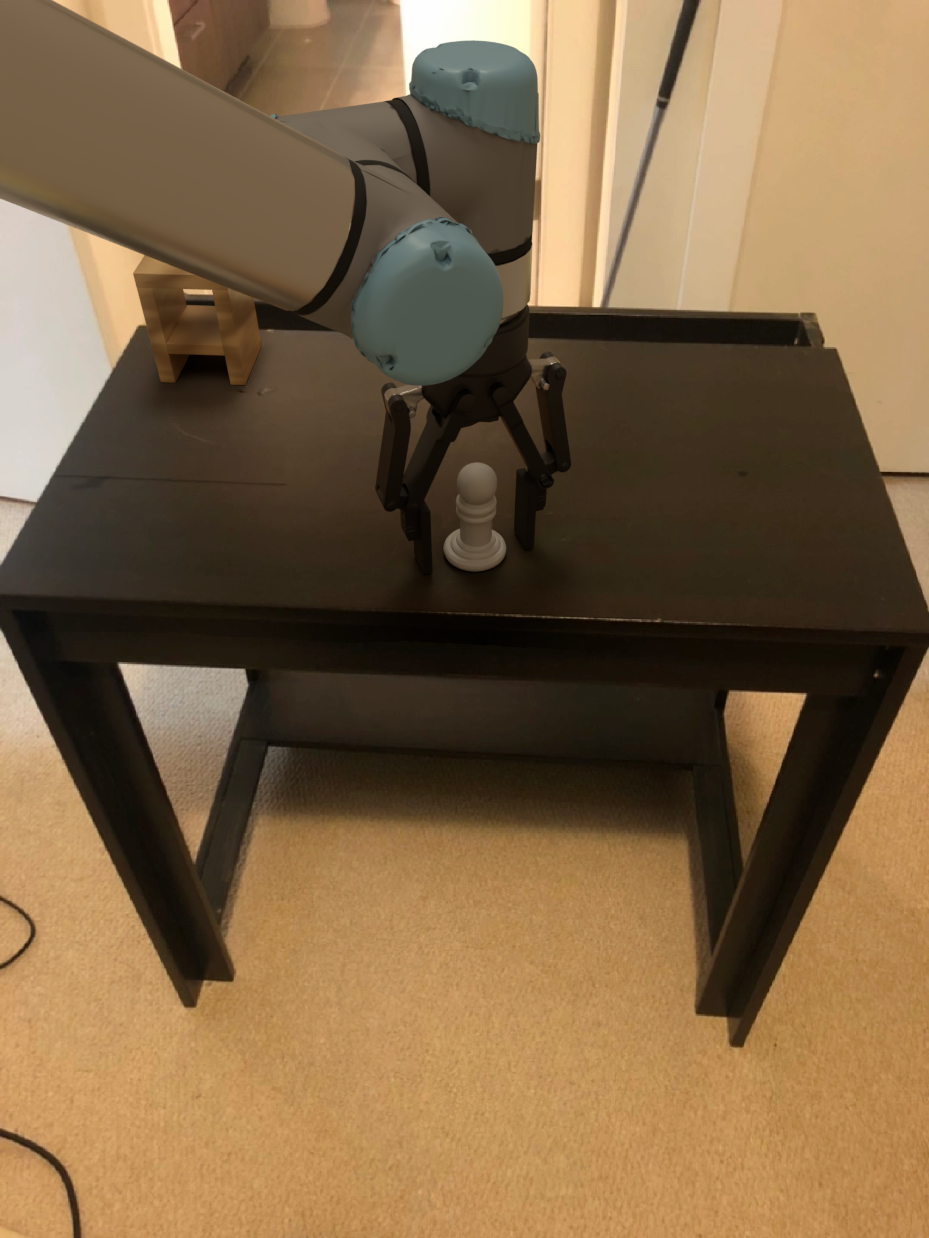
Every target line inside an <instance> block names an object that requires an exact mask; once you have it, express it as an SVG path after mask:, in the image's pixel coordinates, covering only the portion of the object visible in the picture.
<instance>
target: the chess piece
mask: <svg viewBox="0 0 929 1238" xmlns="http://www.w3.org/2000/svg"><path fill="white" fill-rule="evenodd" d="M456 489H457V493H458V495H457V496H456V499H455V506H456V507H455V513H456V516H457V518H458V519H459V528H457V529H456V530H454V531H452V532H451V533H450V534H448V536H447V537H446V539H445V541H444V543H443V549H442V550H443V554H444V556H445V558H446V560H447V561H448V562H449V564H450V565H452V566H454V567H455V568H457V569H459V570H463V571H466V572H484V571H487V570H490V569H493V568H495V567H496V566H498V565H499V564H500V563H501V562H502V561H503V560H504V558H505V556H506V553H507V545H506V541H505V539H504V538H503V536H502V535H501V534H500V533H498V531H496V530H494V529H493V519H494V518H495V517H496V514H497V511H498V510H497V504H498V501H497V497H496V492H497V489H498V478H497V474H496V472H495V471H494V469H493V468H492V467H491V466H490V465H488V464H486V463H483V462H471V463H467V464H466V465H465V466H463V467H462V468H461V469H460V471H459V472H458V475H457V478H456Z"/></svg>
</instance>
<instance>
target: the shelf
mask: <svg viewBox="0 0 929 1238" xmlns="http://www.w3.org/2000/svg"><path fill="white" fill-rule="evenodd" d="M132 276H133V279H134V283H135V287H136V290H137V294H138V298H139V299H138V300H139V302H140V307H141V310H142V314H143V318H144V321H145V326H146V329H147V333H148V338H149V342H150V344H151V349H152V353H153V357H154V361H155V366H156V368H157V373H158V376H159V381H160V383H170V384H171V383H172V384H175V383H176V382H177V381H178V379H179V377H180V374H181V373H182V371H183V369H184V366H185V365H186V363H187V361H188V358H189V357H190V355H191V356H192V355H193V356H195V355H197V356H224V358H225V363H226V369H227V373H228V378H229V383H230V385H232V386H233V385H234V386H246V385H247V382H248V379H249V377H250V375H251V373H252V370H253V367H254V365H255V362H256V360H257V358H258V355H259V353H260V350H261V348H262V341H261V336H260V328H259V323H258V316H257V311H256V304H255V298H253V297H250V296H248V295H245V294H242V293H240V292H237V291H235V290H232V289H230V288H227V287H225V286H222V285H220V284H217V283H214V282H212V281H209V280H207V279H204V278H202V277H199V276H197V275H194V274H191V273H189V272H186V271H184V270H181V269H179V268H176V267H174V266H171V265H168V264H166V263H163V262H161V261H158V260H156V259H153V258H151V257H148V256H146V255H143V257H142V259H141V260H140V262H139V263H138V265H137V266H136V268H135V270H133V272H132ZM184 290H198V291H199V290H200V291H201V290H203V291H211V293H212V297H213V303H214V305H197V304H196V305H194V304H187V301H186V296H185V292H184Z"/></svg>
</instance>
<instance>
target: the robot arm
mask: <svg viewBox="0 0 929 1238" xmlns="http://www.w3.org/2000/svg"><path fill="white" fill-rule="evenodd" d="M538 80H539V78H538V71H537V69H536V65H535V64H534V62H533V61H532V59H531V58H530V56H529V55H527V54H526V53H524V52H523V51H521V50H519V49H518V48H516V47H514V46H513V45H508V44H505V43H500V42H496V41H488V40H476V39H475V40H473V39H472V40H471V39H470V40H458V41H457V40H456V41H447V42H443V43H440V44H438V45H437V46H436V47H428V48H425V49H423V50H422V51H420V52H419V53H418V54H417V56H415V58H414V60H413V62H412V66H411V78H410V82H409V83H408V90H409V94H407V95H403V96H397V97H393V98H392V99H389V100H384V101H378V102H370V103H364V104H363V103H362V104H356V105H350V106H342V107H335V108H328V109H321V110H314V111H307V112H299V113H292V114H286V115H285V114H284V115H280V114H278V113H272V114H270V115H269V114H268V113H265V112H263V111H261V110H260V109H258V108H255V107H254V106H252V105H250V104H248V103H247V102H244V101H243V100H241V99H239V98H237V97H235V96H234V95H232V94H230V93H228V92H226V91H224V90H222V89H220V88H218V87H216V86H215V85H212V84H211V83H209V82H207V81H205V80H203V79H201V78H200V77H198V76H195V75H194V74H192V73H190V72H188V71H186V70H184V69H183V68H180V67H179V66H177V65H175V64H173V63H171V62H170V61H168V60H166V59H164V58H162V57H160V56H158V55H156V54H154V53H152V52H151V51H149V50H147V49H145V48H143V47H141V46H139V45H137V44H135V43H133V42H132V41H131V40H128V39H126V38H125V37H122V36H121V35H119V34H117V33H115V32H113V31H111V30H109V29H107V28H106V27H103V26H102V25H100V24H98V23H97V22H95V21H93V20H90V19H89V18H86V17H85V16H83V15H81V14H79V13H78V12H75V11H73V10H72V9H70V8H68V7H66V6H64V5H62V4H60V3H58V2H57V1H55V0H0V200H3V201H6V202H7V203H10V204H13V205H16V206H18V207H20V208H24V209H26V210H29V211H31V212H34V213H36V214H39V215H41V216H44V217H46V218H49V219H51V220H53V221H56V222H59V223H62V224H64V225H67V226H69V227H72V228H74V229H77V230H79V231H82V232H85V233H86V234H89V235H92V236H95V237H98V238H100V239H102V240H105V241H108V242H110V243H112V244H114V245H118V246H120V247H123V248H125V249H128V250H131V251H132V252H136V253H138V254H141V255H143V256H145V255H146V256H148V257H151V258H153V259H156V260H158V261H161V262H163V263H166V264H168V265H171V266H174V267H176V268H179V269H181V270H184V271H186V272H189V273H191V274H194V275H197V276H199V277H202V278H204V279H207V280H209V281H212V282H214V283H217V284H220V285H222V286H225V287H227V288H230V289H232V290H235V291H237V292H240V293H242V294H245V295H248V296H250V297H253V298H254V300H258V301H261V302H263V303H266V304H268V305H271V306H273V307H275V308H278V309H281V310H283V311H286V312H288V313H291V314H293V315H297V316H299V317H301V318H304V319H306V320H308V321H311V322H313V323H316V324H317V325H318V324H319V325H320V326H322V327H325V328H327V329H330V330H332V331H335V332H337V333H340V334H343V335H344V336H347V337H348V338H350V339H351V340H352V342H353V344H354V346H355V347H356V350H357V351H358V352H359V354H360V355H362V356H363V357H364V358H365V359H366V360H367V361H368V362H370V363H372V364H374V365H375V367H377V369H379V371H380V372H381V373H382V374H384V375H385V376H387V377H388V378H390V379H392V380H393V381H396V382H399V383H402V384H403V385H402V386H397V385H396V383H394V382H391V381H390V382H386V383H384V384H383V385H382V387H381V389H380V393H381V397H382V400H383V401H382V402H383V405H384V410H385V416H384V423H383V430H382V436H381V444H380V451H379V457H378V465H377V470H376V471H377V472H376V478H375V485H374V490H375V493H376V495H377V498H378V499H379V501H380V503H381V505H382V508H383V510H384V511H385V512H387V513H391V512H394V511H396V510H399V512H400V513H399V515H400V527H401V529H402V531H403V533H404V536H405V537H406V539H407V541H408V542H412V541H413V542H412V543H413V555H414V557H415V559H416V561H417V563H418V565H419V567H420V569H421V572H422V573H423V575H428V574H432V573H433V546H432V545H433V544H432V543H433V542H432V518H431V517H432V515H431V510H430V508H429V506H428V504H427V502H426V500H425V499H426V497H427V495H428V493H429V490H431V486H432V484H433V482H434V480H435V478H436V475H437V473H438V471H439V469H440V467H441V465H442V462H443V460H444V459H445V457H446V454H447V451H448V450H449V447H450V445H451V444H452V443H454V442H456V441H457V438H458V436H459V434H460V432H461V429H464V428H468V427H472V426H474V425H476V424H478V423H492V422H497V421H499V420H501V421H502V423H503V425H504V427H505V429H506V431H507V433H508V435H509V437H510V438H511V440H512V442H513V444H514V445H515V448H516V449H517V451H518V454H519V455H520V456H521V459H522V460H523V462H524V464H525V466H526V468H527V469H526V468H525V467H523V468H518V469H516V471H515V495H514V519H513V522H514V523H513V532H514V533H515V535H516V536H517V538H518V539H519V542H520V543H521V544H522V546H523V549H525V550H530V549H534V548H535V536H536V535H535V534H536V533H535V532H536V518H537V517H536V516H537V512H539V511H543V510H544V509H545V507H546V504H547V493H548V492H547V491H548V489H550V488H551V487H552V486H553V485H554V483H555V479H554V477H553V476H552V475H554V474H555V473H557V472H559V473H566V472H568V471H569V470H570V469H571V467H572V459H571V451H570V445H569V437H568V428H567V423H566V422H567V421H566V415H565V407H564V401H563V391H564V387H565V382H566V379H567V371H568V370H566V368H565V367H564V365H563V364H562V363H561V362H560V361H559V359H557V357H556V356H555V354H554V353H552V351H544V352H543V353H541V354H540V356H539V358H530V359H528V356H527V354H528V350H529V334H530V333H529V332H530V312H531V311H530V307H529V303H530V301H531V295H532V292H531V291H532V270H533V269H532V268H533V267H532V266H533V232H534V230H533V229H534V216H535V215H534V214H535V213H534V212H535V195H536V179H537V177H536V176H537V159H538V145H539V143H540V141H541V132H540V113H539V112H540V108H539V107H540V99H539V98H540V95H539V82H538ZM529 381H531V382H532V384H534V386H535V392H536V399H537V406H538V412H539V418H540V423H541V424H540V425H541V430H542V437H543V442H544V449H545V452H543V453H540V451H539V449H538V448H537V446H536V443H535V442H534V439H533V438H532V436H531V434H530V432H529V430H528V428H527V426H526V425H525V423H524V419H523V418H522V416H521V414H520V411H519V409H518V408H517V406H516V404H515V400H516V399H517V397H518V396H519V395H520V393H521V392H522V390H524V388H525V386H526V385H527V384H528V382H529ZM422 400H425V401H426V402H427V403H428V404H429V408H428V410H427V413H426V416H425V417H426V418H425V419H426V422H425V424H424V427H423V430H422V432H421V435H420V437H419V439H418V440H417V444H416V446H415V448H414V451H413V453H412V455H411V457H410V460H409V462H408V464H407V466H406V463H407V456H408V452H409V451H408V450H409V445H410V438H411V431H412V424H411V419H414V418H415V417H416V415H417V414H416V413H417V409H418V404H419V402H421V401H422Z"/></svg>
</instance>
